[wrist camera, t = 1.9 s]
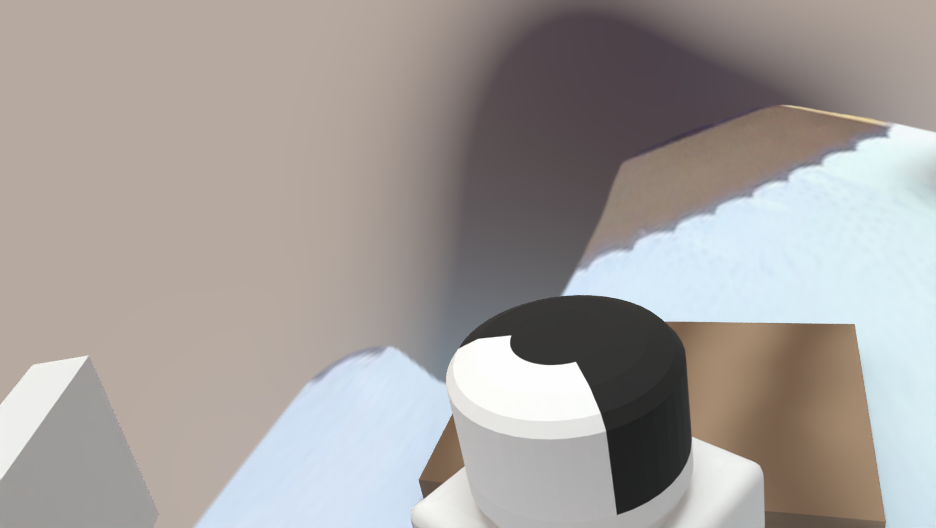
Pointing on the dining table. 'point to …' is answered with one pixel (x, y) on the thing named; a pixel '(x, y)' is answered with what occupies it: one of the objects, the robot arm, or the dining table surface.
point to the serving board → (770, 418)
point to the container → (583, 427)
